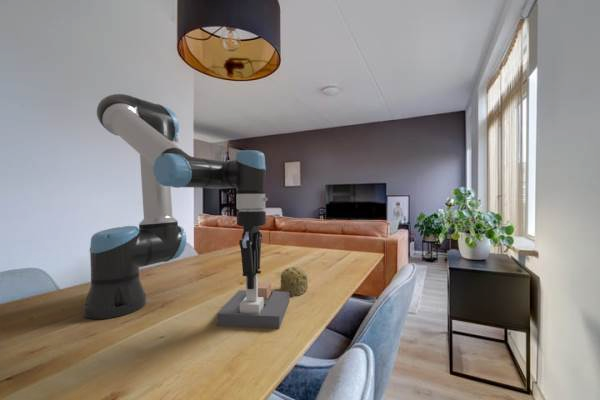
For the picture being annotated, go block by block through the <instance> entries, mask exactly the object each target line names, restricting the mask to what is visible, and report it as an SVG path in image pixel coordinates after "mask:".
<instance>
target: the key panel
mask: <svg viewBox="0 0 600 400" xmlns="http://www.w3.org/2000/svg"><path fill="white" fill-rule="evenodd" d="M245 297H246V289H245V290H243V289H238V291H237V292H235V294H234V295H233V296H232V297H231V298H230V299H229V300H228V301H227V302H226V303H225V305H223V307H221V309H220V310H219V311H218V312H216V326H219V327H240V328H241V327H243V328H259V329H260V328H262V329H263V328H264V329H280V328H281V325H282V322H283V320H284V317H285V314H286V312H287V309H288V307H289V306H288V305H289V303H290V296H289V292H281V290H280V291H278V290H277V291H276V290H275V291H274V290H271V295H270V297H269V298H268V300H264V308H263V310H262V312H261V314H254V313H240V303H241V302H242V301H243V299H244V298H245Z"/></svg>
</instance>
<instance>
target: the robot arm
mask: <svg viewBox="0 0 600 400" xmlns="http://www.w3.org/2000/svg"><path fill="white" fill-rule="evenodd" d="M96 116H97V120H98V121H99V123H100V124H101V125H102V127H103V128H104V129H105V130H107V131H108V133H110V134H112V135H114V136H118V137H120V138H121V139H122V140H123V141H125V143H127V144H128V145H130V147H132V148H133V149H134V150H135V151H136V153H138V154H139V160H140V175H141V176H140V178H141V179H140V180H141V194H142V209H143V210H142V211H143V219H142V220H141V221H140V222H139V224H138V226H136V225H127V226H125V225H124V226H119V227H118V226H117V227H113V228H108V229H104V230H99V231H97V232H95V233H94V234H93V235H92V236H91V239H90V246H89V247H90V248H89V253H90V254H89V257H90V258H89V259H90V288H89V289H88V293H87V297H86V300H85V303H84V304H83V308H82V309H83V310H82V312H83V317H85V318H86V319H90V320H105V319H106V320H107V319H112V318H116V317H120V316H121V317H122V316H124V315H128V314H130V313H133V312H136V311H139V310H140V309H141V308H143V307H144V306H146V305H147V294H146V293H145V290H144V288H143V284H142V282H141V279H140V268H143V267H146V266H150V265H155V264H160V263H165V262H166V263H167V262H170V261H172V260H176V259H178V258H179V257H180V256H181V255H182V254H183V253H184V251H185V248H186V246H187V234H186V232H185V229H184V228H183V226H180V225H179V223H178V220H177V219H176V218H175V217H174V216H173V204H172V203H173V202H172V192H171V189H172V188H195V189H196V188H198V189H199V188H200V189H202V188H203V189H212V190H222V189H223V190H224V189H236V203H235V204H236V205H235V206H236V210H238V211H237V212H236V224H237V226H240V227H243V232H242V233H241V239H240V240H239V242H238V243H239V248H240V254H241V255H240V257H241V265H242V277H245V284H246V285H245V290H246V301H257V299H258V283H259V282H258V281H259V279H258V277H259V275H261V273H262V270H260V269H261V253H262V252H261V250H262V238H263V234H262V233H261V231H260V227H261V226H265V225H266V224H267V216H266V215H267V212H266V211H265V209H266V202H267V201H268V197H266V173H267V172H266V171H267V167H266V157H265V154H264V153H263V152H262V151H260V150H254V149H253V150H252V149H251V150H250V149H244V150H239V151H237V152H236V155H235V159H234V160H227V161H224V160H222V161H220V160H216V159H215V160H214V159H208V158H203V157H195V156H191V155H190V154H188V153H186V152H185V151H184V150H183V149H181V148H180V147H179V146H177V145H176V144H175V143H174V142H173V141H175V140H176V139H177V137H178V133H179V132H180V124H179V120H178V117H177V115H176V114H175V112H174V111H173V110H171V108H168V107H166V106H163V105H162V104H158V103H153V102H150V101H148V100H147V101H146V100H145V99H141V98H138V97H134V96H131V95H128V94H124V93H117V94H115V93H114V94H110V95H107V96H106V97H104V98H102V99H101V100H100V101H99V103H98V105H97V106H96ZM171 187H172V188H171Z"/></svg>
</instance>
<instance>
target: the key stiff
mask: <svg viewBox="0 0 600 400" xmlns="http://www.w3.org/2000/svg"><path fill="white" fill-rule="evenodd" d="M271 283H272V282H258V297H264V300H268V298H269V297H270V295H271V291H272V284H271Z"/></svg>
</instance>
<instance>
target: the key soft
mask: <svg viewBox="0 0 600 400" xmlns="http://www.w3.org/2000/svg"><path fill="white" fill-rule="evenodd" d="M263 308H264V297H258V299H257V301H246V297H245V298H244V299H243V301H242V302H241V303H240V313H254V314H261V312H262V310H263Z"/></svg>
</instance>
